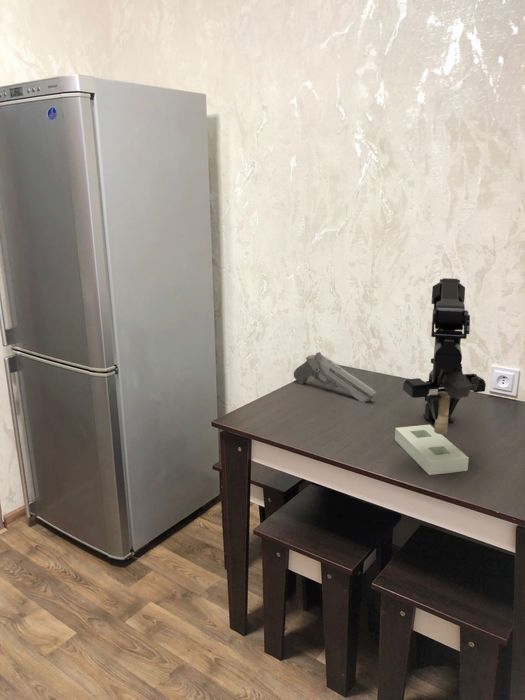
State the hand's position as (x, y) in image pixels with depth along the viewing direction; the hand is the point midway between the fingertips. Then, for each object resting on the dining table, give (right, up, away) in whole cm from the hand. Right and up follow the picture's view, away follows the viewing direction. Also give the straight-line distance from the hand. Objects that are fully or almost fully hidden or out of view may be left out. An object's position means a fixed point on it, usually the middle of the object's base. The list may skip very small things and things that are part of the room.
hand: (441, 418), depth 137 cm
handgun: (-20, +2, +53) cm, 56 cm away
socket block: (-1, -10, +8) cm, 13 cm away
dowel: (0, -3, +1) cm, 4 cm away
